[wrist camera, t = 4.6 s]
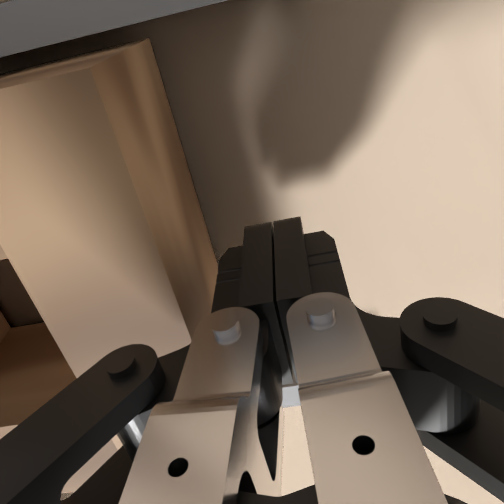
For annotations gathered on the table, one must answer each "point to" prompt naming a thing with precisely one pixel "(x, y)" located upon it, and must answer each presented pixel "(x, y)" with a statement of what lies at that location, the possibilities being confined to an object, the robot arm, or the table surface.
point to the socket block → (95, 225)
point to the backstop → (82, 24)
